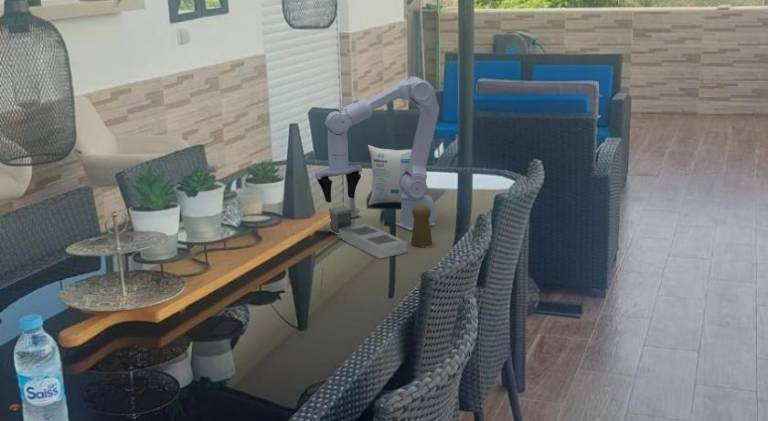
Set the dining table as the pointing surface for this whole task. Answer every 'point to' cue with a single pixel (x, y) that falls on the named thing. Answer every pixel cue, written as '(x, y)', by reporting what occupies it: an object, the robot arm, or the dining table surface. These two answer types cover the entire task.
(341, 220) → the grey rectangular block
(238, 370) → the dining table surface
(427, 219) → the cork
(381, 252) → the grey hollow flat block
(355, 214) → the screw
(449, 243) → the dining table surface
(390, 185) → the pouch
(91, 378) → the dining table surface
